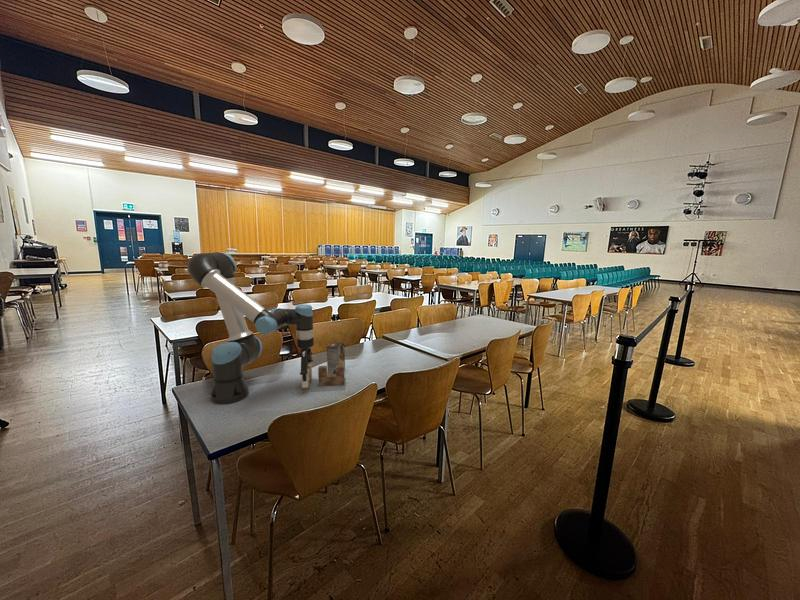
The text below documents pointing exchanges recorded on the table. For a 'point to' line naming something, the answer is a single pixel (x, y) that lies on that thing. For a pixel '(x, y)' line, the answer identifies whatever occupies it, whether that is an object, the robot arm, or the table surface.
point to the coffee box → (335, 356)
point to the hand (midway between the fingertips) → (307, 381)
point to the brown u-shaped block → (331, 376)
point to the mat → (323, 387)
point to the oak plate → (308, 377)
